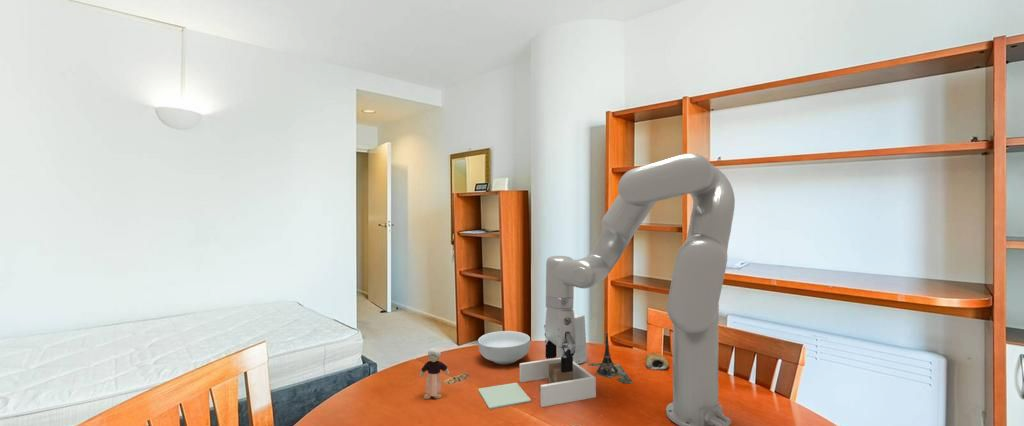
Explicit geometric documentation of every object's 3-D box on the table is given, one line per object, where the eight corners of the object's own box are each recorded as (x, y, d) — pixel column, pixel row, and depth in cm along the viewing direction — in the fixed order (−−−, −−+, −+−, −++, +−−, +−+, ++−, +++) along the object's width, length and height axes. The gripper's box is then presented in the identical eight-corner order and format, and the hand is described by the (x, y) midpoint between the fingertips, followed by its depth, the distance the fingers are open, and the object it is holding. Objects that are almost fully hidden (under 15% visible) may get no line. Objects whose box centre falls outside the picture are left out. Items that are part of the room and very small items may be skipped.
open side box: (595, 397, 103) (595, 377, 103) (542, 407, 98) (542, 386, 98) (567, 373, 118) (567, 356, 118) (519, 381, 113) (519, 363, 113)
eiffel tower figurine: (634, 385, 111) (634, 337, 110) (598, 386, 110) (597, 338, 110) (618, 364, 126) (618, 322, 125) (586, 365, 125) (586, 322, 125)
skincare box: (587, 362, 127) (586, 315, 126) (573, 366, 123) (572, 318, 123) (569, 354, 134) (569, 309, 133) (555, 358, 130) (555, 312, 130)
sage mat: (531, 401, 101) (531, 400, 101) (489, 409, 97) (489, 407, 97) (516, 383, 111) (516, 382, 111) (478, 390, 108) (478, 388, 108)
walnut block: (573, 390, 107) (573, 368, 107) (556, 393, 105) (556, 370, 105) (565, 383, 112) (564, 361, 112) (548, 385, 110) (548, 364, 110)
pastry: (643, 358, 130) (643, 346, 130) (665, 360, 128) (665, 348, 128) (646, 369, 121) (646, 357, 120) (670, 371, 119) (670, 359, 119)
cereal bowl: (509, 347, 141) (509, 327, 141) (541, 361, 128) (540, 339, 128) (468, 358, 131) (468, 337, 131) (498, 374, 118) (497, 350, 118)
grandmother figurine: (420, 401, 101) (419, 351, 101) (419, 395, 105) (418, 346, 105) (450, 397, 103) (449, 348, 103) (448, 391, 107) (448, 344, 107)
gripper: (587, 308, 101) (586, 375, 102) (558, 294, 118) (557, 351, 118) (561, 311, 99) (560, 379, 99) (534, 295, 115) (533, 354, 116)
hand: (558, 364), depth 109 cm, fingers open, 9 cm apart
